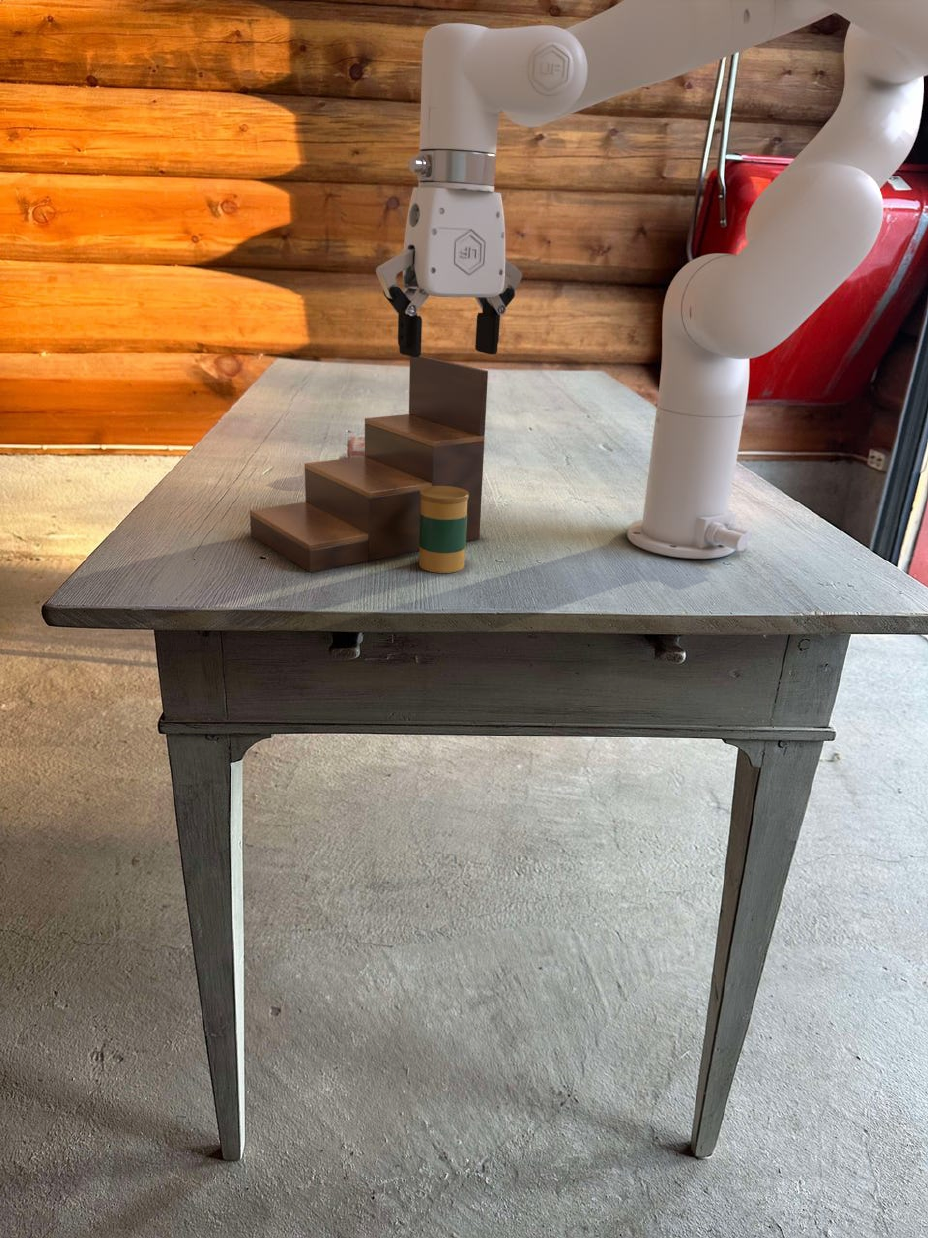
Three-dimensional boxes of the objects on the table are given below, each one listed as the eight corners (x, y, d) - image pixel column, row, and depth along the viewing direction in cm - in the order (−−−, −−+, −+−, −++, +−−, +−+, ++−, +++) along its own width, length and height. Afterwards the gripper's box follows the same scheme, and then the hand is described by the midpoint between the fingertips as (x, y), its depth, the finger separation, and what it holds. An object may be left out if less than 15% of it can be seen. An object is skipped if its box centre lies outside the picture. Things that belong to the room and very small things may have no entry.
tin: (474, 568, 96) (478, 494, 93) (436, 576, 94) (438, 501, 90) (446, 554, 100) (449, 483, 97) (409, 562, 97) (410, 489, 94)
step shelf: (309, 572, 93) (305, 383, 85) (250, 535, 103) (241, 362, 96) (479, 538, 105) (488, 370, 98) (411, 508, 116) (415, 353, 108)
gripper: (401, 166, 82) (396, 361, 89) (548, 180, 91) (534, 356, 98) (360, 167, 88) (359, 351, 94) (503, 181, 97) (493, 347, 104)
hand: (448, 353), depth 96 cm, fingers open, 9 cm apart
